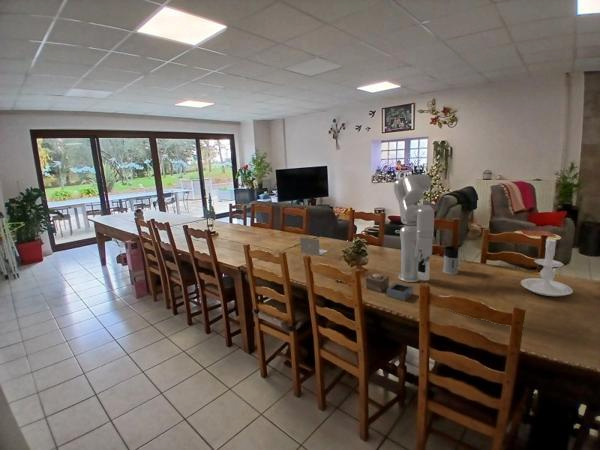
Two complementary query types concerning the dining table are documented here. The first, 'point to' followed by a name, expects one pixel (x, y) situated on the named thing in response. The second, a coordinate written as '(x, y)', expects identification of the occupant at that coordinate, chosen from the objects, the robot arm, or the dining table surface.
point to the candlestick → (547, 275)
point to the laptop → (311, 246)
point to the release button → (377, 276)
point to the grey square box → (377, 283)
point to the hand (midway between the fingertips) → (423, 269)
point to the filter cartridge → (427, 267)
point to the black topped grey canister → (451, 260)
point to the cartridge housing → (400, 291)
